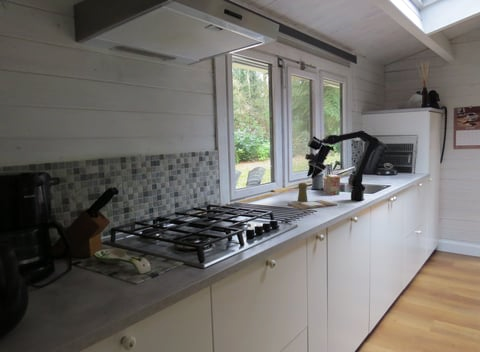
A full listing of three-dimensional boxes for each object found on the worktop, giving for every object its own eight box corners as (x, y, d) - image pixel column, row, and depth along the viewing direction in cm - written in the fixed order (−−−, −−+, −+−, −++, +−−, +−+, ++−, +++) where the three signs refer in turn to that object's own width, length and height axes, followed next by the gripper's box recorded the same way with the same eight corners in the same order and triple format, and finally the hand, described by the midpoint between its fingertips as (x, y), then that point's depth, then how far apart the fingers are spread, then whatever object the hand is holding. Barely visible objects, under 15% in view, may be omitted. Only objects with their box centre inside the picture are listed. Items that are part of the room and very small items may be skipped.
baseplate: (321, 201, 220) (321, 199, 220) (337, 205, 208) (337, 203, 208) (287, 205, 209) (287, 203, 209) (302, 209, 197) (302, 207, 197)
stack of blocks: (323, 190, 264) (323, 172, 263) (332, 190, 264) (332, 172, 263) (330, 195, 243) (330, 176, 242) (339, 195, 243) (340, 176, 242)
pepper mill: (296, 201, 220) (296, 183, 218) (298, 200, 225) (298, 182, 224) (306, 202, 218) (306, 183, 216) (308, 200, 223) (308, 182, 222)
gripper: (307, 147, 228) (294, 169, 229) (315, 148, 209) (301, 172, 211) (322, 155, 229) (310, 177, 230) (331, 157, 211) (318, 181, 212)
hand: (309, 177), depth 221 cm, fingers open, 9 cm apart
